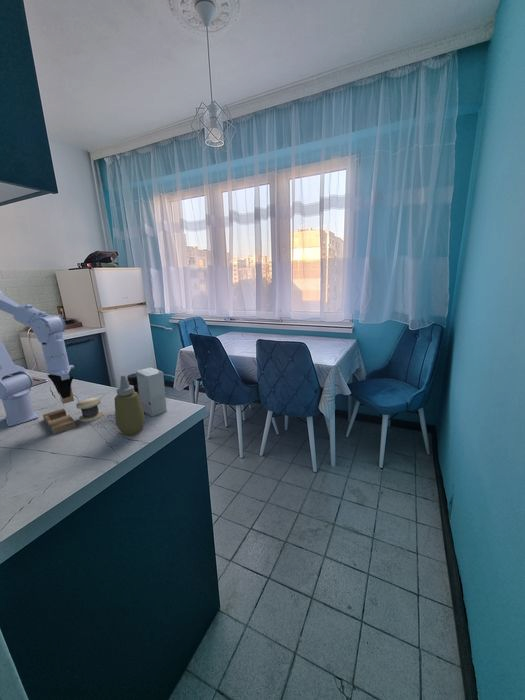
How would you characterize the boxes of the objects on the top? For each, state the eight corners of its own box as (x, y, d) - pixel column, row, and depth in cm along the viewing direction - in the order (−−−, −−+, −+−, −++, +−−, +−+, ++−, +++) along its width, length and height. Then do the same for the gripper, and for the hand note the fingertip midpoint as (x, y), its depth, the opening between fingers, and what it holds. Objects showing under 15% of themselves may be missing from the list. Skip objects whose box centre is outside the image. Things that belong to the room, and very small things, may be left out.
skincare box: (140, 410, 102) (134, 370, 98) (156, 404, 106) (150, 366, 103) (152, 417, 97) (146, 375, 93) (168, 410, 101) (163, 370, 97)
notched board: (44, 419, 98) (42, 414, 97) (64, 413, 102) (63, 408, 101) (53, 434, 88) (52, 428, 88) (76, 426, 92) (74, 421, 92)
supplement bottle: (141, 411, 102) (136, 379, 98) (124, 409, 103) (119, 378, 100) (152, 402, 108) (148, 372, 105) (136, 401, 109) (131, 371, 106)
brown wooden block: (60, 401, 93) (57, 385, 92) (71, 398, 95) (68, 382, 94) (63, 403, 91) (59, 387, 90) (74, 400, 93) (70, 384, 92)
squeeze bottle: (113, 432, 88) (103, 377, 84) (139, 422, 94) (131, 369, 89) (124, 441, 83) (114, 383, 78) (151, 430, 89) (142, 375, 84)
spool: (76, 417, 99) (73, 402, 97) (99, 410, 103) (96, 396, 102) (83, 424, 94) (79, 408, 92) (106, 416, 99) (103, 401, 97)
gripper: (77, 356, 87) (85, 397, 90) (64, 348, 96) (72, 386, 100) (48, 361, 82) (59, 405, 85) (38, 353, 91) (48, 392, 95)
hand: (64, 395), depth 92 cm, fingers closed on brown wooden block, 3 cm apart
